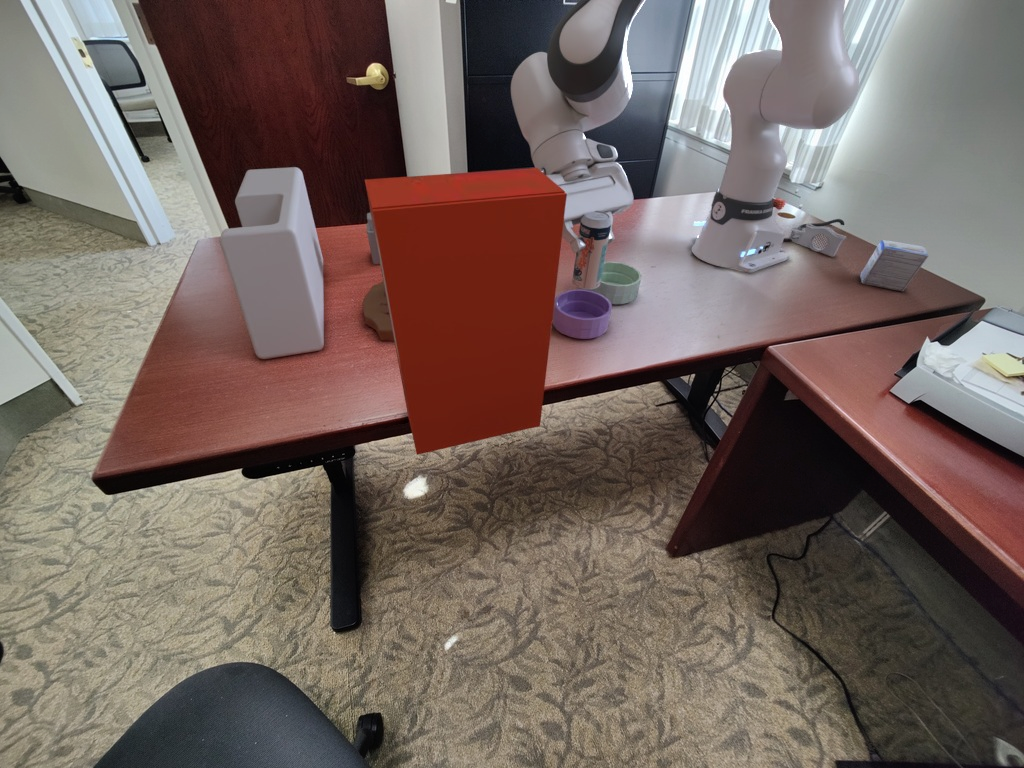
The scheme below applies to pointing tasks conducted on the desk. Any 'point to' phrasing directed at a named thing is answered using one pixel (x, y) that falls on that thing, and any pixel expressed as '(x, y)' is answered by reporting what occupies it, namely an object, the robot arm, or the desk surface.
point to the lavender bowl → (581, 313)
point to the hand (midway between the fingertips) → (594, 246)
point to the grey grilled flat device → (811, 233)
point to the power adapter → (372, 240)
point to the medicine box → (893, 265)
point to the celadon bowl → (619, 282)
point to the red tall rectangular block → (469, 297)
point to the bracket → (277, 263)
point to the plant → (378, 312)
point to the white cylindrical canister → (592, 250)
